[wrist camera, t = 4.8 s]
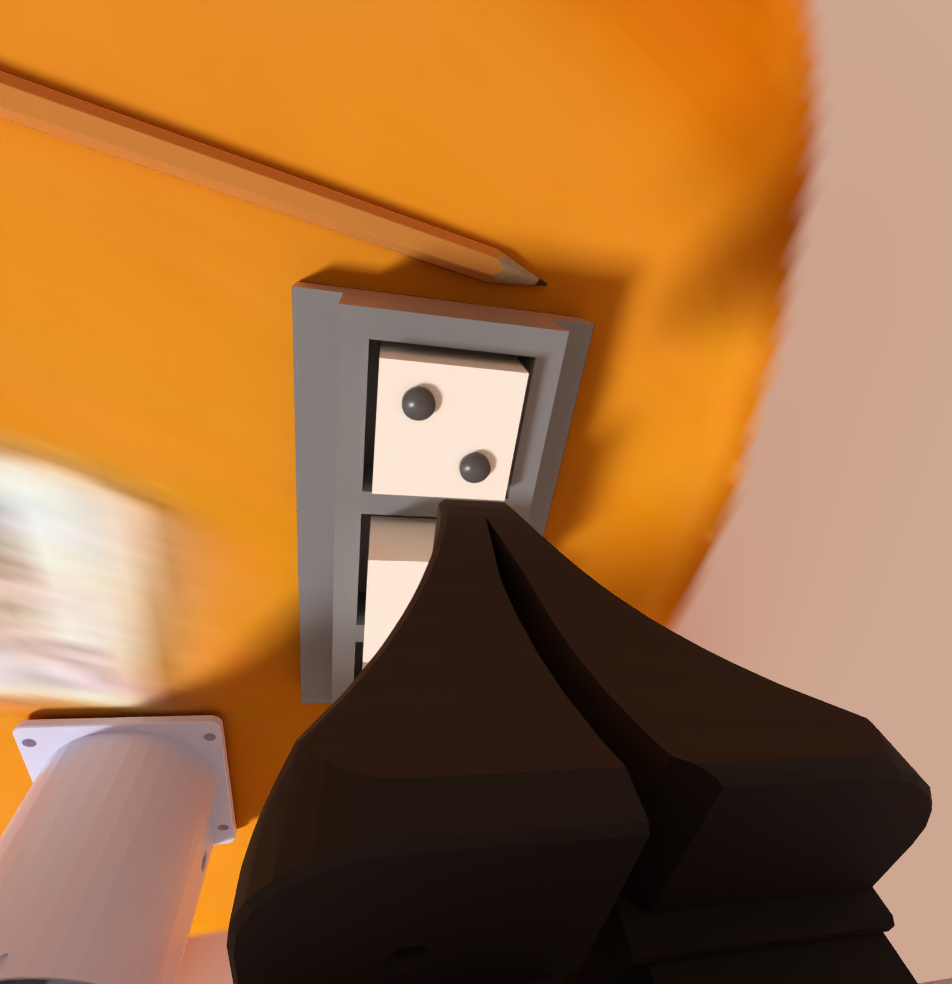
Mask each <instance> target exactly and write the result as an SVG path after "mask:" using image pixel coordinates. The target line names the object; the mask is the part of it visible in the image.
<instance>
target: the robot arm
mask: <svg viewBox="0 0 952 984" xmlns="http://www.w3.org/2000/svg"><path fill="white" fill-rule="evenodd" d="M13 736H14V738H15V741H16V743H17V745H18V748H19V750H20V753H21V755H22V757H23V760H24V762H25V765H26V767H27V770H28V772H29V774H30V777H31V779H32V782H33V784H32V786H31V788H30V789H29V791H28V793H27V794H26V796H25V798H24V799H23V801H22V802H21V804H20V806H19V807H18V809H17V811H16V812H15V814H14V816H13V817H12V819H11V820H10V822H9V824H8V825H7V827H6V829H5V830H4V832H3V833H2V835H1V837H0V984H175V981H176V978H177V975H178V972H179V968H180V964H181V961H182V957H183V953H184V950H185V946H186V943H187V939H188V935H189V932H190V928H191V924H192V921H193V917H194V913H195V910H196V906H197V902H198V899H199V895H200V892H201V888H202V884H203V881H204V877H205V873H206V870H207V866H208V862H209V859H210V855H211V851H212V848H213V844H226V843H230V842H232V841H233V840H234V839H235V836H236V832H237V830H236V822H235V814H234V806H233V798H232V791H231V783H230V775H229V767H228V759H227V751H226V744H225V736H224V728H223V722H222V720H221V719H220V718H219V717H217V716H214V715H193V716H153V717H113V718H73V719H33V720H23V721H21V722H19V723H18V725H17V726H16V728H15V729H14V730H13ZM931 811H932V799H931V791H930V787H929V786H928V784H927V783H926V782H925V781H924V780H923V779H922V778H921V777H920V776H919V775H918V773H917V772H916V771H915V770H914V769H913V768H912V767H911V766H910V764H909V763H908V762H907V761H906V760H905V759H904V758H903V757H902V756H901V755H900V753H899V752H898V751H897V750H896V749H895V748H894V747H893V746H892V744H891V743H890V742H889V741H888V740H887V739H886V738H885V737H884V736H883V735H882V733H881V732H880V731H879V730H878V729H877V728H876V727H875V726H874V725H873V724H872V723H871V722H870V721H869V720H868V719H867V718H865V717H862V716H860V715H857V714H854V713H852V712H849V711H847V710H844V709H842V708H839V707H836V706H834V705H831V704H828V703H826V702H824V701H821V700H818V699H816V698H813V697H811V696H808V695H806V694H803V693H800V692H798V691H795V690H792V689H790V688H788V687H785V686H783V685H780V684H778V683H776V682H773V681H771V680H769V679H767V678H765V677H762V676H760V675H758V674H756V673H753V672H751V671H749V670H747V669H745V668H743V667H740V666H738V665H736V664H733V663H731V662H730V661H728V660H726V659H724V658H722V657H720V656H718V655H715V654H714V653H712V652H709V651H708V650H706V649H704V648H702V647H699V646H698V645H696V644H694V643H692V642H691V641H689V640H687V639H685V638H683V637H682V636H680V635H678V634H676V633H674V632H673V631H671V630H669V629H667V628H665V627H664V626H662V625H660V624H659V623H657V622H655V621H654V620H652V619H650V618H649V617H647V616H646V615H644V614H642V613H641V612H639V611H638V610H636V609H635V608H633V607H632V606H630V605H629V604H627V603H626V602H624V601H623V600H621V599H620V598H618V597H617V596H615V595H614V594H612V593H611V592H610V591H608V590H607V589H605V588H604V587H603V586H601V585H600V584H599V583H597V582H596V581H595V580H594V579H592V578H591V577H590V576H588V575H587V574H586V573H585V572H583V571H582V570H581V569H579V568H578V567H577V566H576V565H575V564H573V563H572V562H571V561H570V560H569V559H567V558H566V557H565V556H564V555H563V554H562V553H560V552H559V551H558V550H557V549H556V548H555V547H554V546H552V545H551V544H550V543H549V542H548V541H547V540H546V539H545V538H544V537H542V536H541V535H540V534H539V533H538V532H537V531H536V530H535V529H534V528H533V527H532V526H531V525H529V524H528V523H527V522H526V521H525V520H524V519H523V518H522V517H521V516H520V515H519V514H518V513H517V512H515V511H514V510H513V509H512V508H511V507H510V506H509V505H507V504H506V503H505V502H489V501H470V500H451V499H444V500H443V501H442V502H440V503H439V504H438V511H437V519H436V527H435V535H434V543H433V552H432V555H431V557H430V560H429V562H428V565H427V567H426V569H425V572H424V574H423V576H422V579H421V581H420V583H419V585H418V587H417V589H416V591H415V593H414V595H413V597H412V599H411V601H410V602H409V604H408V606H407V608H406V609H405V611H404V613H403V614H402V616H401V618H400V619H399V621H398V622H397V624H396V625H395V627H394V628H393V630H392V631H391V633H390V634H389V636H388V637H387V639H386V640H385V642H384V643H383V644H382V646H381V647H380V649H379V650H378V651H377V653H376V654H375V655H374V656H373V658H372V659H371V660H370V661H369V662H368V664H367V665H366V666H365V667H364V669H363V670H362V671H361V672H360V673H359V675H358V676H357V677H356V678H355V680H354V681H353V682H352V683H351V684H350V686H349V687H348V688H347V689H346V690H345V691H344V692H343V693H342V695H341V696H340V697H339V698H338V699H337V700H336V701H335V702H334V703H333V704H332V705H331V706H330V707H329V708H328V709H327V710H326V711H325V712H324V713H323V714H322V715H321V716H320V717H319V718H318V719H317V720H316V721H315V722H314V723H313V724H312V725H311V726H310V727H309V728H308V729H307V730H306V731H305V732H304V733H303V734H302V735H301V736H300V737H299V738H298V739H297V741H296V743H295V744H294V746H293V748H292V750H291V752H290V754H289V756H288V758H287V760H286V762H285V764H284V766H283V768H282V770H281V772H280V773H279V775H278V777H277V779H276V781H275V784H274V786H273V788H272V790H271V792H270V794H269V796H268V798H267V800H266V803H265V805H264V807H263V809H262V812H261V814H260V816H259V819H258V821H257V824H256V826H255V829H254V831H253V834H252V837H251V840H250V842H249V845H248V848H247V851H246V854H245V858H244V861H243V864H242V867H241V871H240V875H239V880H238V885H237V890H236V894H235V899H234V904H233V909H232V913H231V918H230V923H229V930H228V939H227V950H228V955H229V961H230V966H231V973H232V978H233V984H952V978H950V979H944V980H937V981H931V982H924V983H917V982H916V980H915V979H914V977H913V976H912V974H911V973H910V971H909V970H908V968H907V967H906V965H905V964H904V962H903V961H902V960H901V958H900V957H899V955H898V953H897V952H896V951H895V949H894V948H893V946H892V945H891V943H890V942H889V940H888V939H887V937H886V936H885V935H884V933H883V932H886V931H889V930H890V929H891V928H893V927H894V920H893V916H892V914H891V913H890V912H889V910H888V908H887V907H886V906H885V904H884V903H883V901H882V900H881V899H880V897H879V896H878V894H877V893H876V891H875V890H874V889H873V885H874V884H875V883H876V882H877V881H878V880H879V879H880V878H881V877H882V876H883V875H884V874H885V873H886V872H887V871H888V870H889V868H890V867H891V866H892V865H893V864H894V863H895V862H896V861H897V860H898V859H899V858H900V857H901V856H902V854H903V853H905V851H906V850H907V849H908V848H909V847H910V846H911V845H912V844H913V843H914V841H915V840H916V839H917V837H918V836H919V835H920V834H921V832H922V831H923V830H924V828H925V827H926V825H927V822H928V819H929V817H930V813H931Z"/></svg>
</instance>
